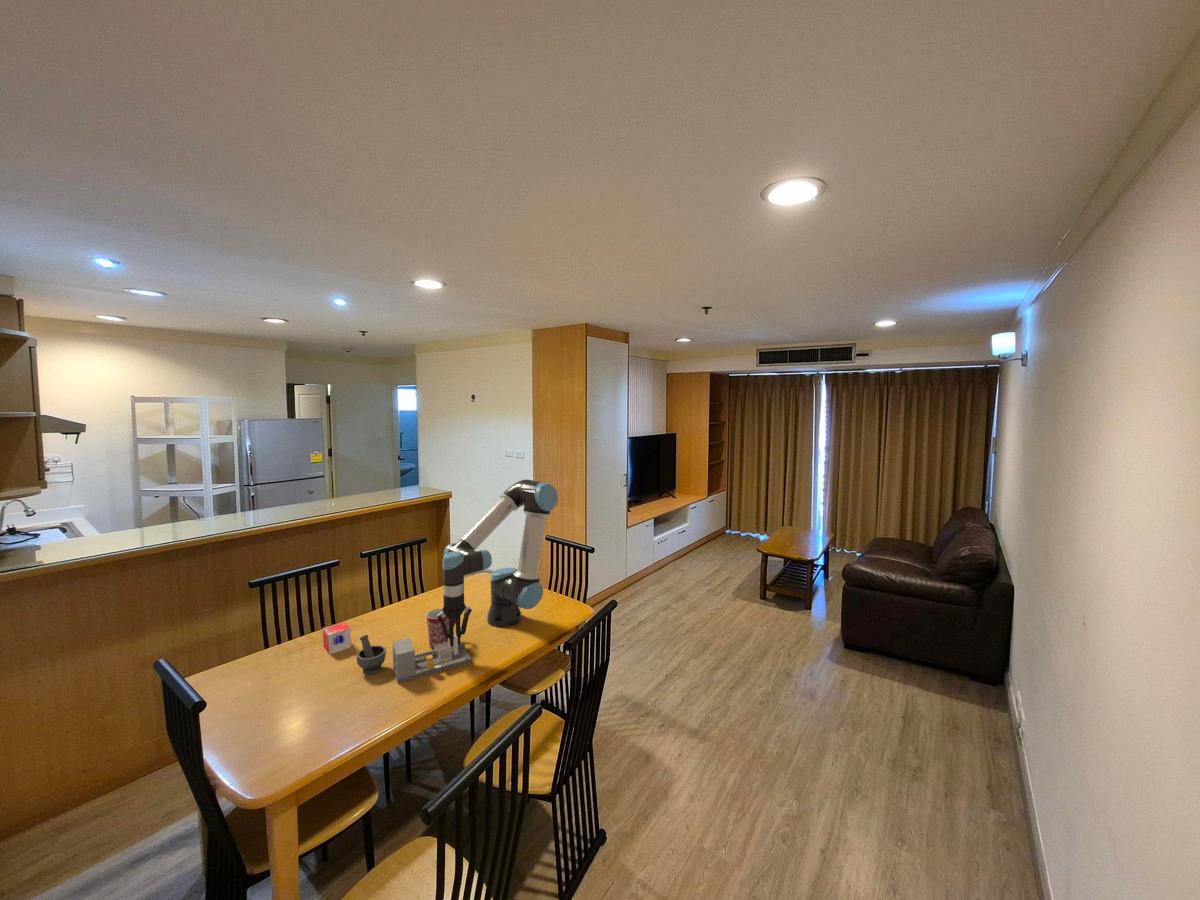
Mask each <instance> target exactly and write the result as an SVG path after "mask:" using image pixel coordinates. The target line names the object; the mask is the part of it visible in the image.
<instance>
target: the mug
mask: <svg viewBox="0 0 1200 900" xmlns="http://www.w3.org/2000/svg"><path fill="white" fill-rule="evenodd" d="M442 609H443V607H442V608H435V609H432V610H430V611H428V612H427V613H426V615H425V617H426V623H427V633H428V643H429V645H428V646H429V648H430V649H432V650H435V645H437V644H441V643H445V642H449V638H446V637H445V636H444V633H443V630H442V626H441V623H440V620H439V619H438V618H437V616H436V615H437V614H438V613H441V612H442ZM443 620H444V622H445V625H446V629H447V632H448V633H449V619H448V617H447V616H446V615H445V614H444V618H443ZM455 626H456V621H455V618H454V621H453V627H455Z"/></svg>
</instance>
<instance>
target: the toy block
mask: <svg viewBox="0 0 1200 900" xmlns="http://www.w3.org/2000/svg"><path fill="white" fill-rule="evenodd" d="M351 630H352V629H351V627H350V626H349V625H348V624H347V623H346V622H345V621H342V622H339V623H338V622H337V623H334V624H331V625H328V626H324V627H322V643H323V644H322V645H323V648H324V649H325V650H326V652H327V653H328V654H329V655H331V654H335V653H338V652H341V651H344V650H347V649H350V648H352V635H351V632H352V631H351ZM349 647H350V648H349Z"/></svg>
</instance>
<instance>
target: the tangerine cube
mask: <svg viewBox="0 0 1200 900" xmlns="http://www.w3.org/2000/svg"><path fill="white" fill-rule="evenodd" d="M426 667H427V669H431V668H433V656H432V655H429V656H426Z"/></svg>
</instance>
